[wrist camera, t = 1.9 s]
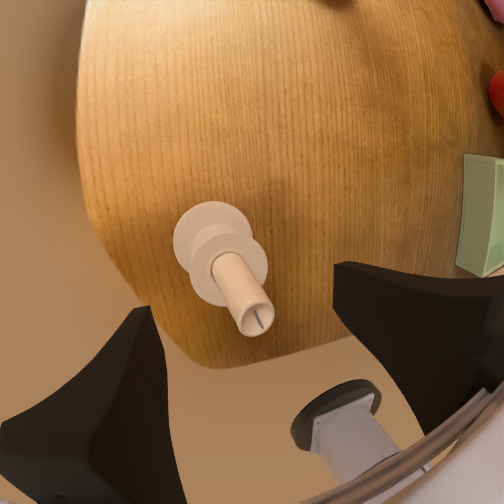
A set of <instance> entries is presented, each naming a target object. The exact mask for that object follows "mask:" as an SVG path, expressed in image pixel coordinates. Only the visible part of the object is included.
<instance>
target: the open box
mask: <svg viewBox="0 0 504 504" xmlns="http://www.w3.org/2000/svg"><path fill="white" fill-rule="evenodd" d="M455 265H457V266H459V267H461V268H463V269H465V270H467V271H469V272H471V273H473V274H475V275H477V276H479V277H481V278H483V277H485V276H487V275H488V274H490V273H491V272H493V271H495V270H496V269H498V268H499V267H501V266H502V265H504V159H502V158H496V157H488V156H480V155H471V154H464V182H463V203H462V216H461V226H460V235H459V243H458V250H457V256H456V262H455Z"/></svg>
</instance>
